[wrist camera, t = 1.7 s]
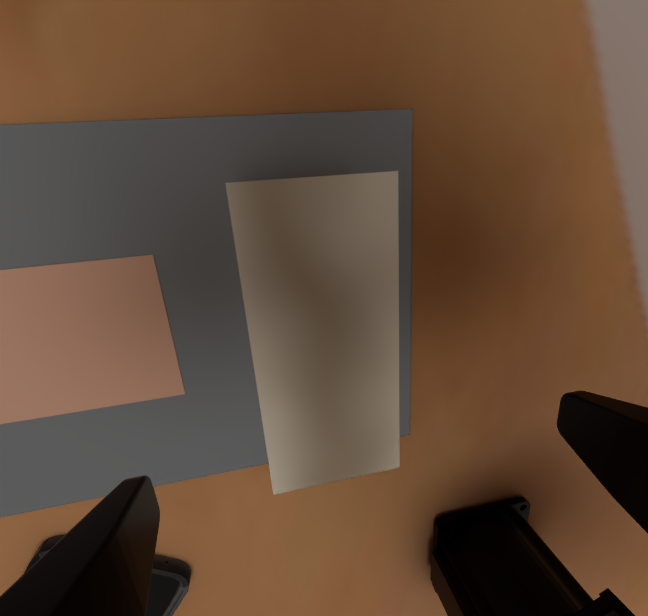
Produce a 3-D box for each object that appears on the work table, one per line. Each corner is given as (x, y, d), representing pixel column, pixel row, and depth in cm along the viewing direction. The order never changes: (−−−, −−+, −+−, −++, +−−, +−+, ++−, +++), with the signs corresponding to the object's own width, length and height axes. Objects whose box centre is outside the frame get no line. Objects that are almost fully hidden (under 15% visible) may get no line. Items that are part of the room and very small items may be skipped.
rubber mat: (409, 110, 14) (412, 108, 14) (407, 431, 19) (410, 435, 19) (-336, 140, 10) (-356, 138, 10) (-93, 531, 16) (-101, 538, 15)
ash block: (355, 178, 14) (398, 170, 10) (365, 403, 18) (399, 467, 14) (233, 187, 14) (225, 183, 9) (268, 421, 17) (273, 494, 13)
